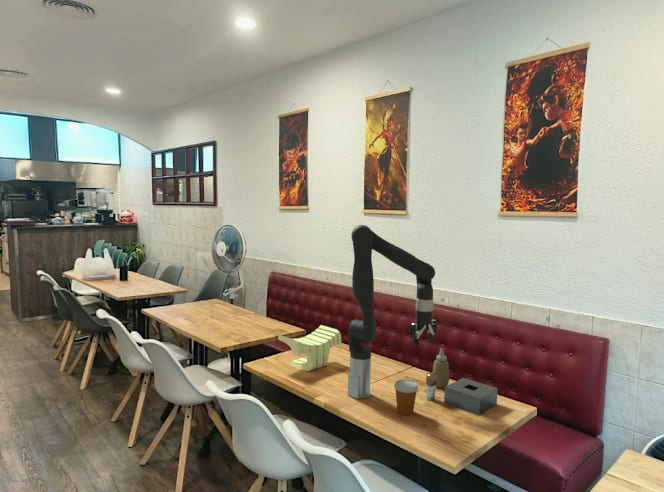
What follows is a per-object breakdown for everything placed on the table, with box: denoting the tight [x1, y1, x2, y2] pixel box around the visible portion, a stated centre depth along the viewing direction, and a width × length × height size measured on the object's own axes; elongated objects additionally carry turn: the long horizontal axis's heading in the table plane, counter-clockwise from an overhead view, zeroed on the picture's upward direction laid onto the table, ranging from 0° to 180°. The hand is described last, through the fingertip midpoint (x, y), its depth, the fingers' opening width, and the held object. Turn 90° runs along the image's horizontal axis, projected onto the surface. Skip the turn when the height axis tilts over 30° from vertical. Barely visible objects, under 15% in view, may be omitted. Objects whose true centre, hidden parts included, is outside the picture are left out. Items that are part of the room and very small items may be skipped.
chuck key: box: [425, 372, 437, 402], centre depth 190 cm, size 5×5×11 cm
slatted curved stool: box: [277, 324, 342, 372], centre depth 228 cm, size 30×16×18 cm, turn 135°
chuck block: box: [443, 377, 499, 416], centre depth 186 cm, size 16×16×7 cm
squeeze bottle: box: [432, 348, 450, 389], centre depth 204 cm, size 8×8×18 cm
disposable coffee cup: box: [393, 378, 419, 416], centre depth 176 cm, size 10×10×12 cm
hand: (423, 344), depth 191 cm, fingers open, 8 cm apart
